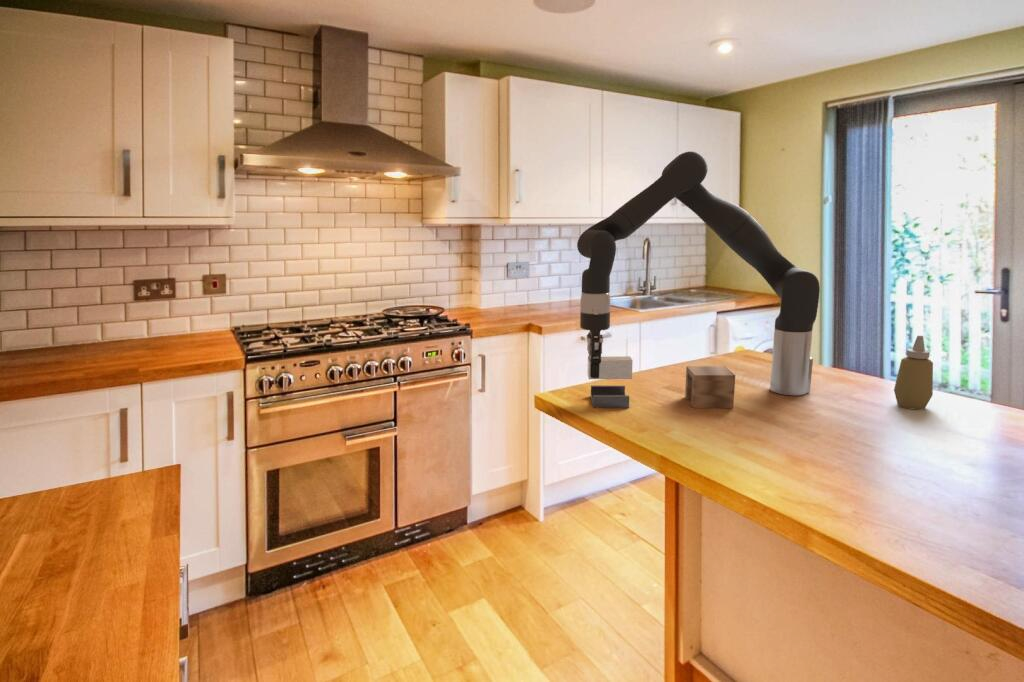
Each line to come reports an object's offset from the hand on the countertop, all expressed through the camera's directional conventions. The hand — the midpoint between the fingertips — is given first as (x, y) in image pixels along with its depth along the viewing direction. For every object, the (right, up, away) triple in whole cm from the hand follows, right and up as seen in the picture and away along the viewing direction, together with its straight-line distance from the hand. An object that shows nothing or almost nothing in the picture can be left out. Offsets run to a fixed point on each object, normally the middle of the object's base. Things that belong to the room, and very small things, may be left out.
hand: (594, 375), depth 158 cm
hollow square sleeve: (+30, -7, 0) cm, 30 cm away
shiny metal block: (+4, -1, 0) cm, 4 cm away
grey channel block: (+4, -7, +1) cm, 8 cm away
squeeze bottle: (+78, -8, -6) cm, 79 cm away
